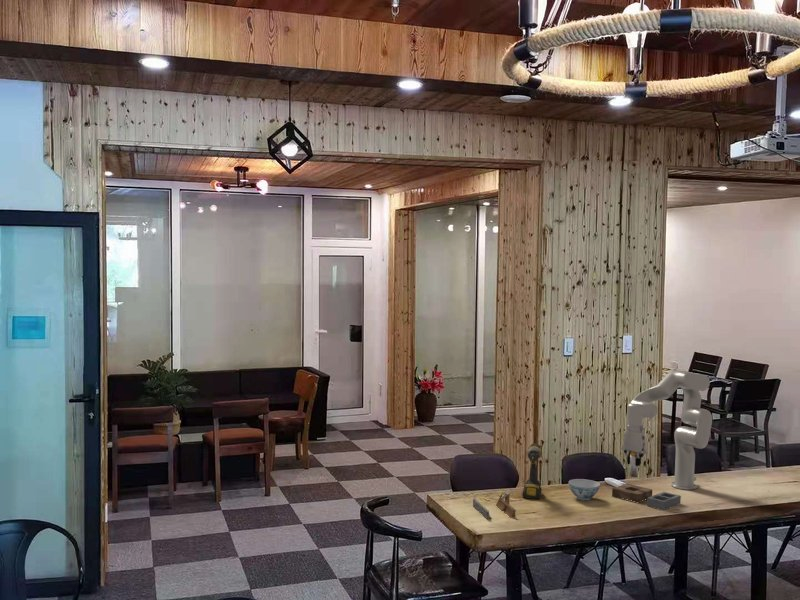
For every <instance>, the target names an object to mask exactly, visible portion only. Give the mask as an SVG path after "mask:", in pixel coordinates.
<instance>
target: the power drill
mask: <svg viewBox="0 0 800 600" xmlns="http://www.w3.org/2000/svg"><path fill="white" fill-rule="evenodd" d="M526 454H527V455H526V456H527V457H528V459H529V461H530V465H529V467H530V468H529V478H528V479H527V480H526V481H525V483H524V486H523V489H522V494H521V495H522V497H523V498H525V499H532V500H539V499H541V495H542V491H543V490H542V487H541V486H542V485H541V484H542V483H541V481H540V480H538V462H539V459H540V458H541V456H542V447H541V445H540V444H538V443H532V444H530V446H528V449H527V452H526Z"/></svg>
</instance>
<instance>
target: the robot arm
mask: <svg viewBox="0 0 800 600" xmlns="http://www.w3.org/2000/svg"><path fill="white" fill-rule="evenodd" d="M710 382H711V381H710V379H709V377H708V376H707V375H706V374H700V373H695V372H690V371H683V370H677V369H674V370H671V371H669V372H668V373H667V374H666V375H665V376H663V378H662V379H661V380H660V381H659V382H658V383H657V384H656V385H655V386H653V387H650V388H647V389H645V390H644V391H641V392H639V393H638V394H637V395H636V396H635V397H634V398H633V399H632V401H631V402H629V403H628V404H627V407H626V410H627V411H626V430H625V432H624V437H623V445H621V447H620V449H621V451H623V452H624V453H625V456H626V457H627V458H626V462H627V465H630V452H631V451H634V452H636V453H637V458H636V466H638V467H641V464H642V458H643V456H645V455H647V454H648V450H647V446H646V445H647V444H646V443H647V442H646V435H645V431H646V428H645V427H644V424H643V423H644V422H643V421H644V418H646V419H650V418H651V419H652V418H655V417H656V416H657V415H658V413H659V409H658V406H657V405H656V404H655V403H653V402H658V401H663V400H667V399H669V398H670V397H671V396H672V395H673V394H674V393H675V392H676V391H677V390H678V389H679V388H680V389H681V391H682V393H683V402H682V403H683V404H682V407H681V414H680V421H681V422H682V423H684V424H687V425H689V426H684V425H683V426H678V427H677V428H676V429H675V430H674V435H673V436H674V443H675V459H674V462H675V464H674V481H672V482H671V483H670V484H671V486H672V487H673V488H675V489H679V490H686V491H687V490H689V491H690V490H691V491H692V490H696V489H697V488H698V486H697V484H695V482H696V481H697V477H695V468H696V467H695V466H696V465H695V464H696V463H695V462H696V452H695V450H694V448H696V449H701V450H702V449H705V448H706V447H707V446H708V443H709V439H710V436H711V435H710V434H711V429H712V425H713V416H712V413H711V412H710V410H708V409H705V408H701V403H702V396H701V392H704V391H706V390H708V389H709V387H710V386H711V385H710ZM690 426H695V427H696V428H695V427H690Z"/></svg>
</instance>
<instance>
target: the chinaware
mask: <svg viewBox="0 0 800 600" xmlns="http://www.w3.org/2000/svg"><path fill="white" fill-rule="evenodd" d="M568 486H569V489H570V491H571V493H572V494H573V495H574V496H575V497H576V499H577V500H579V499H580V501H584V500H587V501H590V500H591V499H592V498H594V496H596V495H597V493H598V492H599V489H600V487H601V484H600V483H599V482H598V481H595V480H591V479H584V478H574V479H569V481H568Z"/></svg>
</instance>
